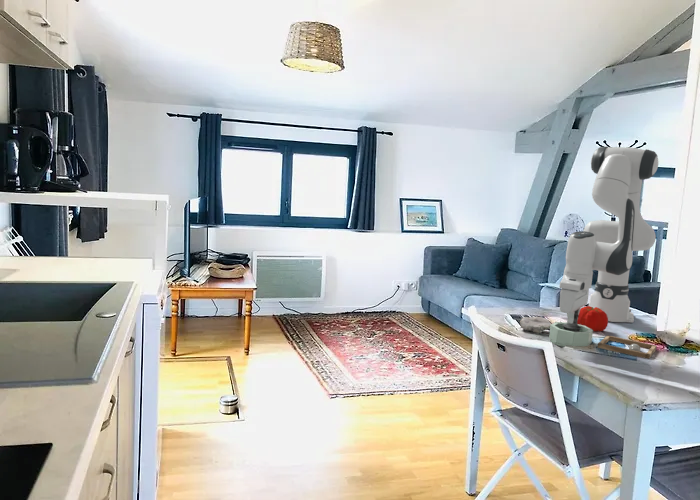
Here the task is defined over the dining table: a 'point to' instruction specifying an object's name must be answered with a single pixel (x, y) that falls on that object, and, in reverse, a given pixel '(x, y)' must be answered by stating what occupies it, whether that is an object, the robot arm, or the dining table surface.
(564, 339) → the bowl
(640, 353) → the oak tray
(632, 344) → the pebble
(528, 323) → the fossil
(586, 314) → the tomato
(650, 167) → the robot arm
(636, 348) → the pebble
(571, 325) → the chess piece
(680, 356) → the dining table surface
